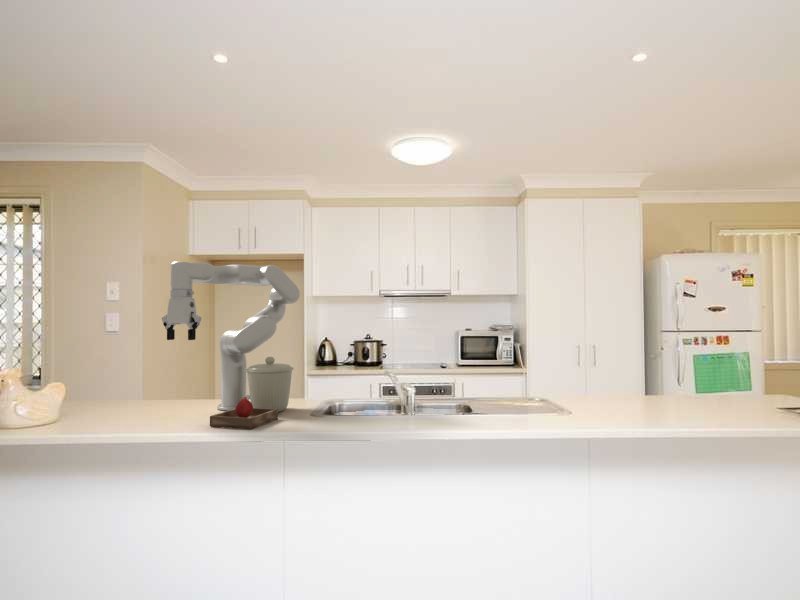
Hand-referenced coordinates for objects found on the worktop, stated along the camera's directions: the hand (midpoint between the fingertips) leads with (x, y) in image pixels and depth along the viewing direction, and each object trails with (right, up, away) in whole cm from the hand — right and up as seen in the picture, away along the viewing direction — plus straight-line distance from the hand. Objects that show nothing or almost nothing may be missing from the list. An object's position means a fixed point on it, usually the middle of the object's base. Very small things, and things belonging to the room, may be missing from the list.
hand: (181, 339), depth 172 cm
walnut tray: (+29, -28, -14) cm, 42 cm away
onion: (+28, -27, -14) cm, 41 cm away
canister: (+32, -29, +6) cm, 43 cm away
